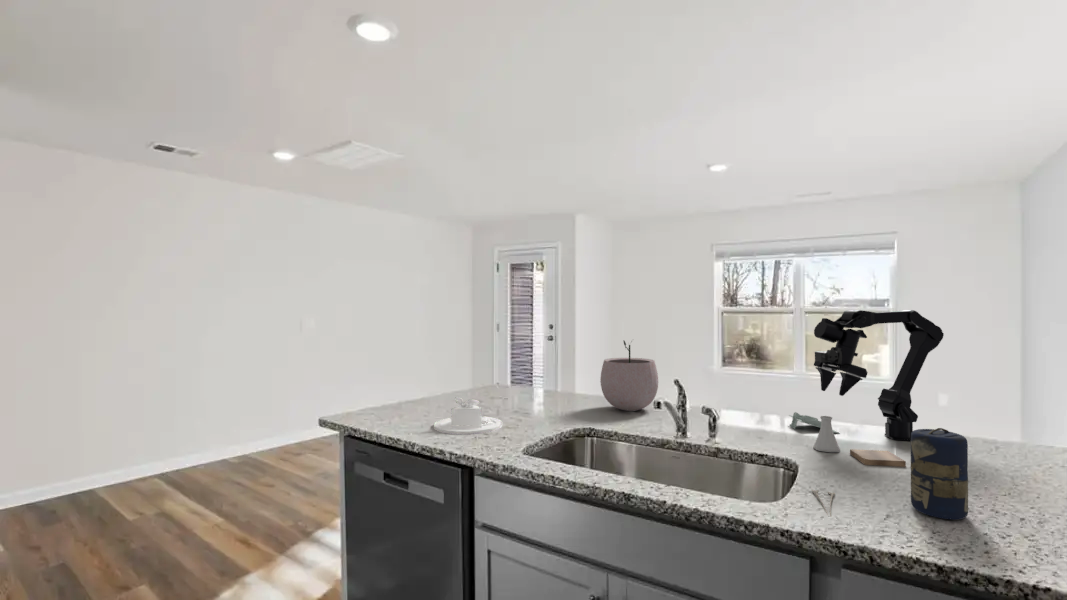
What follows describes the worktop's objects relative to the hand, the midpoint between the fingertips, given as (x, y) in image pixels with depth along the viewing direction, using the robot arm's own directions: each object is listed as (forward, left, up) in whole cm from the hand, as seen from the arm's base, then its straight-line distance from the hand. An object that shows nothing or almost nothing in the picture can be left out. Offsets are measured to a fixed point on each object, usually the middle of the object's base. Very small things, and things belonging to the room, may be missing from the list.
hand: (831, 393), depth 168 cm
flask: (+6, +13, -15) cm, 21 cm away
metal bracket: (+1, -16, -16) cm, 22 cm away
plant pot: (+65, -37, -15) cm, 77 cm away
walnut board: (-4, +22, -15) cm, 27 cm away
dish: (+123, +2, -16) cm, 124 cm away
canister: (0, +60, -15) cm, 62 cm away
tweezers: (+21, +60, -16) cm, 66 cm away
